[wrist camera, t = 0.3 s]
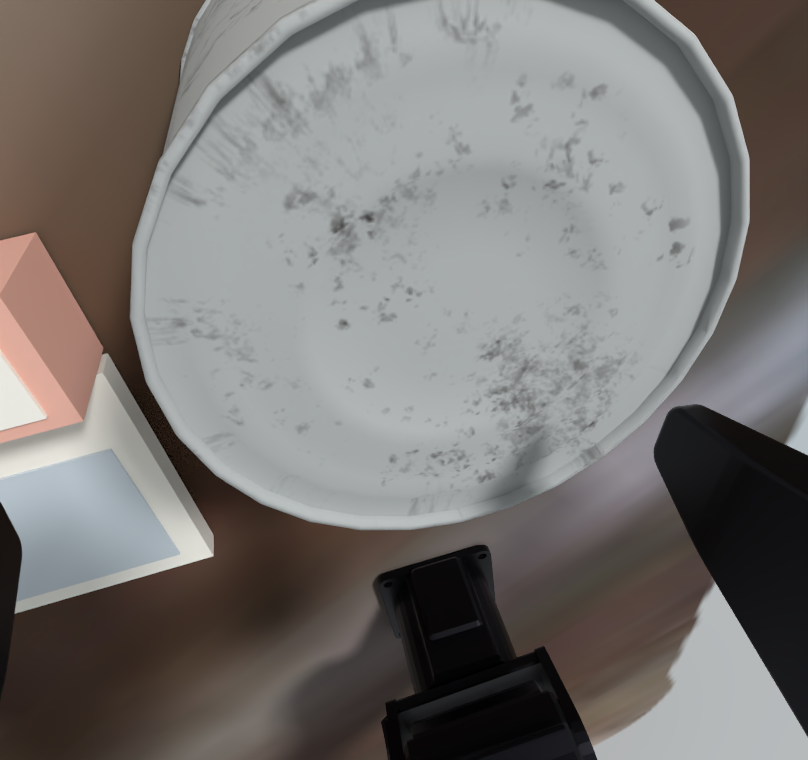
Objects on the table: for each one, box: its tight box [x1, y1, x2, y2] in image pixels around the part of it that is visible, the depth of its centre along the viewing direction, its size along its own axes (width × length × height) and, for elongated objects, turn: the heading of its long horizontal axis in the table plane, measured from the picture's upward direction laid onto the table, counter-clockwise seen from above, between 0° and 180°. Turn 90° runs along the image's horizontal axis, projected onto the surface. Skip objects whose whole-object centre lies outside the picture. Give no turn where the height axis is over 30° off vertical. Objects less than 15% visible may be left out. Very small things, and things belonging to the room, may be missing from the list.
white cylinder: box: [130, 0, 749, 530], centre depth 14 cm, size 10×10×12 cm
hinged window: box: [0, 353, 214, 614], centre depth 24 cm, size 11×10×1 cm
